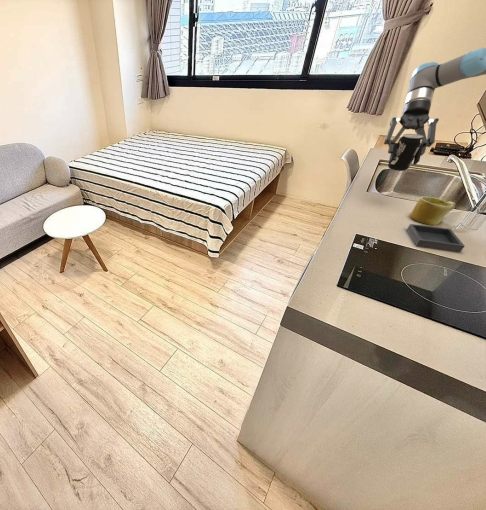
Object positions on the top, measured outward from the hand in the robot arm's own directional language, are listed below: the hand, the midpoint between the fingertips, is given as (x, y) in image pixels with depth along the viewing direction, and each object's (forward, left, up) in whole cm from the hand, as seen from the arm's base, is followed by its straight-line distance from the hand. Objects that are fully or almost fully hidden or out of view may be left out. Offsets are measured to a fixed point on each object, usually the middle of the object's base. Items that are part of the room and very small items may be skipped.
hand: (403, 161), depth 102 cm
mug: (-14, +5, -20) cm, 25 cm away
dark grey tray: (-10, +22, -20) cm, 31 cm away
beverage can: (0, -4, -4) cm, 5 cm away
